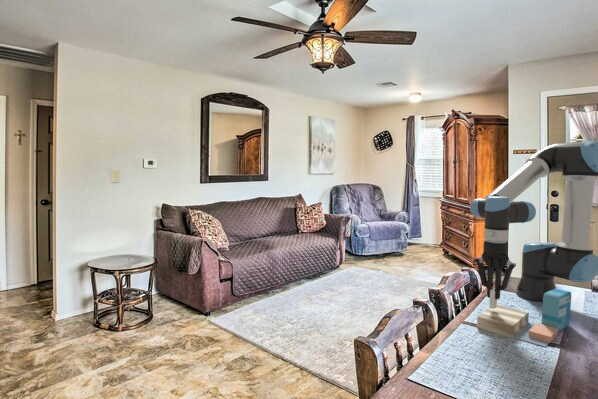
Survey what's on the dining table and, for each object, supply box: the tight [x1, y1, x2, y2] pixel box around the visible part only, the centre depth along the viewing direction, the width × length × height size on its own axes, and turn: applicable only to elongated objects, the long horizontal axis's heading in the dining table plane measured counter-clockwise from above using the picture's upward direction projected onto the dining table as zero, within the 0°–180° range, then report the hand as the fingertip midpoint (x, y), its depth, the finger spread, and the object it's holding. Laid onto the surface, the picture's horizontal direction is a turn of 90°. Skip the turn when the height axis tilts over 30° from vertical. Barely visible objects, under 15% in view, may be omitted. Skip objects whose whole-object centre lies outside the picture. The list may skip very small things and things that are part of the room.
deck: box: [476, 303, 530, 339], centre depth 129 cm, size 17×11×4 cm, turn 134°
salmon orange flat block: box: [528, 322, 559, 344], centre depth 120 cm, size 9×6×2 cm, turn 134°
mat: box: [512, 321, 560, 348], centre depth 122 cm, size 17×9×1 cm, turn 134°
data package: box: [541, 288, 572, 332], centre depth 127 cm, size 12×4×12 cm, turn 127°
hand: (493, 307), depth 131 cm, fingers closed
